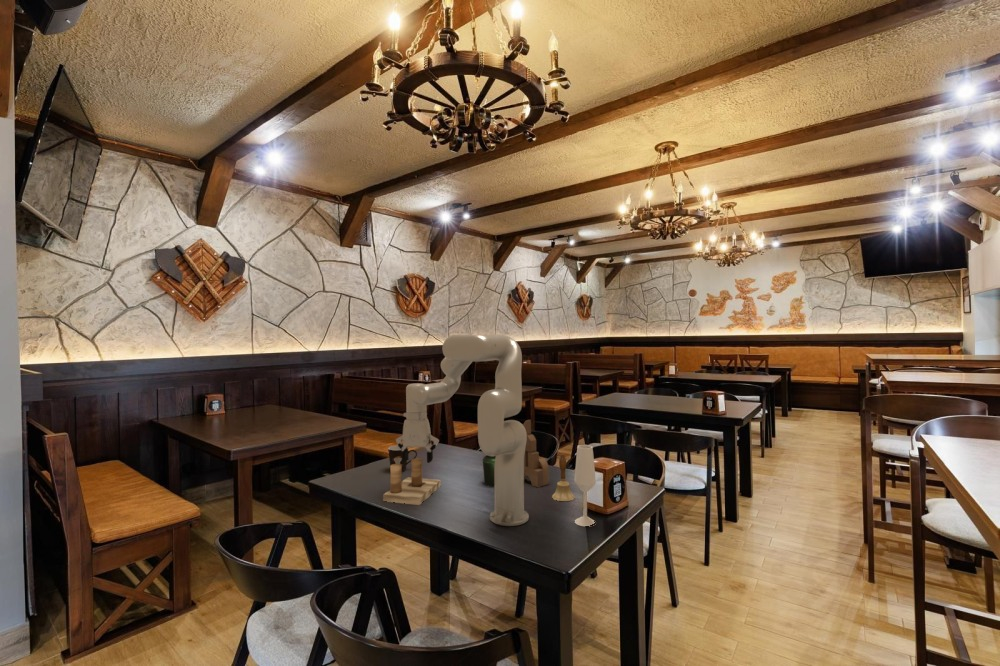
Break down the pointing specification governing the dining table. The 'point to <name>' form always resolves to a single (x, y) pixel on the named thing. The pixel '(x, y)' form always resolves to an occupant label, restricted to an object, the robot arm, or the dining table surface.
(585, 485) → the champagne flute
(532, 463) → the wooden toy
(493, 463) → the potion bottle
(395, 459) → the coffee mug
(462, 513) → the dining table surface
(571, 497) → the hand bell
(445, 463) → the dining table surface
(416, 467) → the peg
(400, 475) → the board
